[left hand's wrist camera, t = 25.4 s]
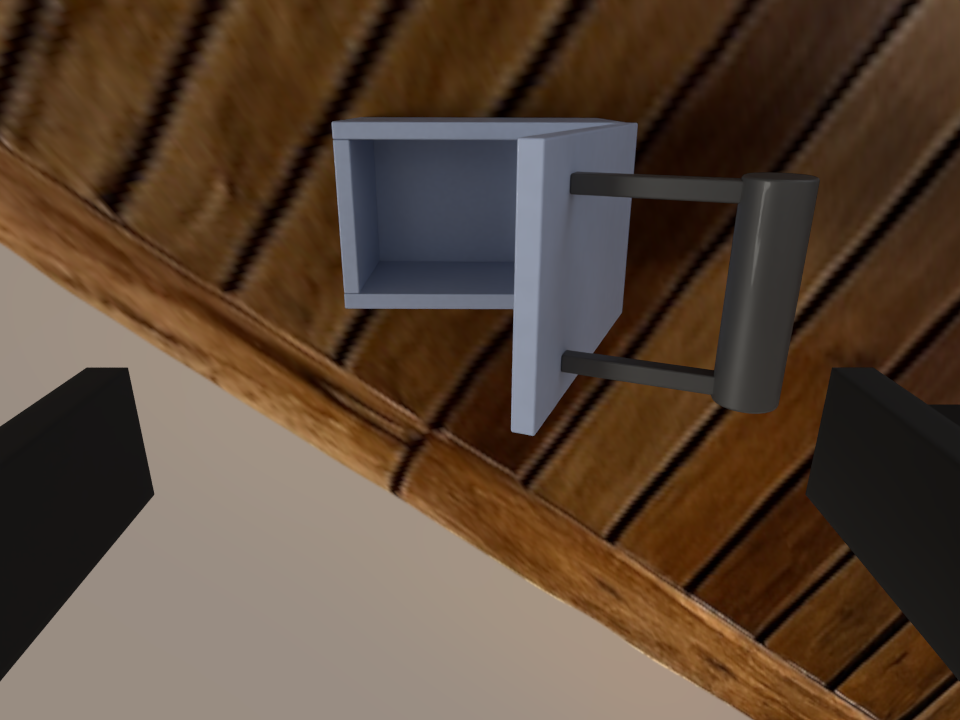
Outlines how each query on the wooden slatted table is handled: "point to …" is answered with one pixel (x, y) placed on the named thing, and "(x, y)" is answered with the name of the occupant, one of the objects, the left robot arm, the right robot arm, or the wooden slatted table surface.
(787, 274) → the lid
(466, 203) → the chest
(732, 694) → the wooden slatted table surface
